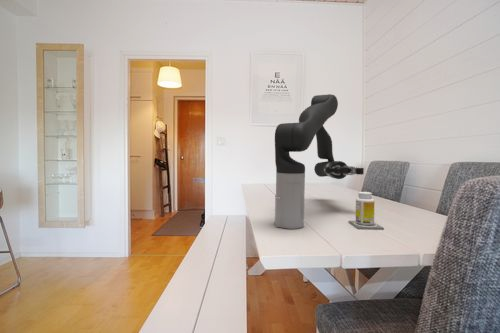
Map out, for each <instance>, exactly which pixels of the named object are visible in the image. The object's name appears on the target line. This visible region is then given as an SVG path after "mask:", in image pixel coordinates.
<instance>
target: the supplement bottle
mask: <svg viewBox="0 0 500 333" xmlns="http://www.w3.org/2000/svg"><path fill="white" fill-rule="evenodd" d="M372 194H373V193H372V192H369V191H359V192H358V197H356V199H355V221H356V222H357V223H358V224H362V225H372V224H374V223H375V199H374V198H372V197H373V195H372Z"/></svg>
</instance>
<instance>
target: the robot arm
mask: <svg viewBox="0 0 500 333" xmlns="http://www.w3.org/2000/svg"><path fill="white" fill-rule="evenodd" d="M338 105H339V102H338V98H337V96H336V95H335V94H318V95H314V96H312V98H311V101H310V105H309V106H308V107H307V108H305V109H304V110H303V111H302V112H301V113H300V114H299V117H298V122H286V123H279V124H278V125H277V126H276V128H275V131H274V161H275V170H276V172H275V174H276V176H275V177H276V178H275V181H276V182H275V196H274V197H275V198H274V199H275V200H274V224H275V227H276V228H282V229H290V230H291V229H292V230H293V229H294V230H296V229H301V228H303V227H304V226H305V191H306V188H305V186H306V184H305V183H306V181H305V179H306V166H305V164H304V163H302V162H300V161H298V160H296V159H294V158H292V156H291V155H290V152H291V153H292V152H293V153H294V152H296V153H298V152H299V153H300V152H305V151H306V150H308V149H309V147H311V144H312V142H313V140H314V138H316V149H317V150H316V152H317V157H318V159H321V160H326V161H321V162H317V163H315V165H314V169H313V170H314V173H315V175H316V176H317V177H323V178H324V177H328V178H329V177H330V178H333V179H336V180H342V179H344V178H346V177H347V176H355V175H357V176H359V175H364V172H365V170H364V168H363V167H355V166H352V165H351V166H349V165H348V164H346V163H345V162H344V161H341V160H335V158H334V154H333V140H332V138H331V136H330V134H329V132H328V131H327V130H326V129H325V126H324V124H325V123H326V122H327V121H328V119H330V118H331V117H333V116H334V115H335V114H336V112H337V110H338Z"/></svg>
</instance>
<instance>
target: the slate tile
mask: <svg viewBox="0 0 500 333" xmlns="http://www.w3.org/2000/svg"><path fill="white" fill-rule="evenodd" d="M347 221H348V223H349V224H351V226H353V227H354V228H356V229H357V230H382V231H384V227H383V226H382V225H380V224H378V223H377V222H374V224H372V225H362V224H358V223H357V222H356V220H347Z"/></svg>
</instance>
